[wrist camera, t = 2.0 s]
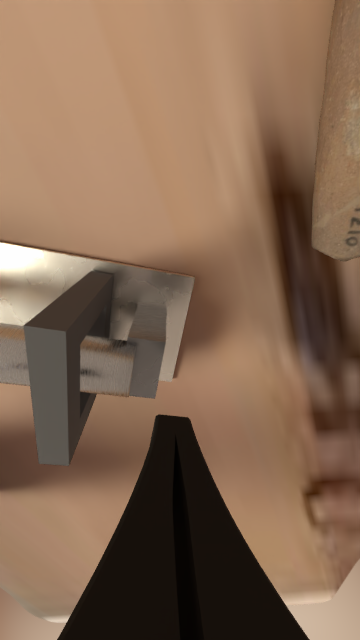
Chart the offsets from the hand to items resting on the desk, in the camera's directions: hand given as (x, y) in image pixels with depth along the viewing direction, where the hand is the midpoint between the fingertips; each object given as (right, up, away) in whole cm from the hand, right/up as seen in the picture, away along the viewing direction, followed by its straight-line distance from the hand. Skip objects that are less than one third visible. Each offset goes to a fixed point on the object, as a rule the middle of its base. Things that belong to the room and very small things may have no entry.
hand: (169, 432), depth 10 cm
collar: (-5, +5, +7) cm, 10 cm away
